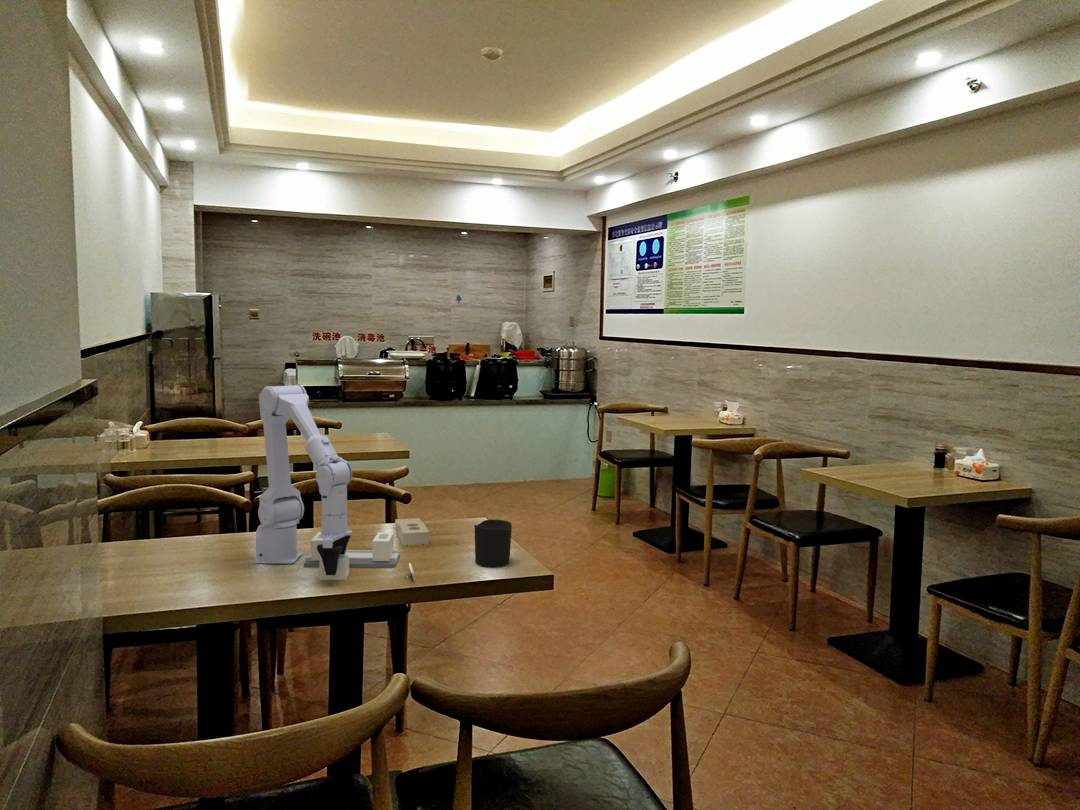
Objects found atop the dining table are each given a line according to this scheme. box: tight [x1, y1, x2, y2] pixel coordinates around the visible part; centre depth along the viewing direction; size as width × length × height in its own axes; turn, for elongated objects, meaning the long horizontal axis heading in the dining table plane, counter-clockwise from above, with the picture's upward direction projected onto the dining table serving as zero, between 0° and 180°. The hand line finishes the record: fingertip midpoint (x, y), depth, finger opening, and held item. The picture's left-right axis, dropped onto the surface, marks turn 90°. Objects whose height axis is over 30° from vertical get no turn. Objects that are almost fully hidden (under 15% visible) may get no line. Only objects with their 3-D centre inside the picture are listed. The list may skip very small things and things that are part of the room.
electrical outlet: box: [394, 517, 430, 547], centre depth 212 cm, size 7×4×18 cm
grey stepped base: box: [303, 531, 401, 569], centre depth 188 cm, size 22×10×7 cm, turn 93°
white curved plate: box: [404, 562, 416, 583], centre depth 177 cm, size 4×8×3 cm, turn 15°
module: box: [319, 554, 350, 581], centre depth 176 cm, size 6×4×5 cm, turn 93°
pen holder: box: [474, 519, 513, 568], centre depth 189 cm, size 9×9×10 cm
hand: (334, 569), depth 176 cm, fingers open, 7 cm apart
